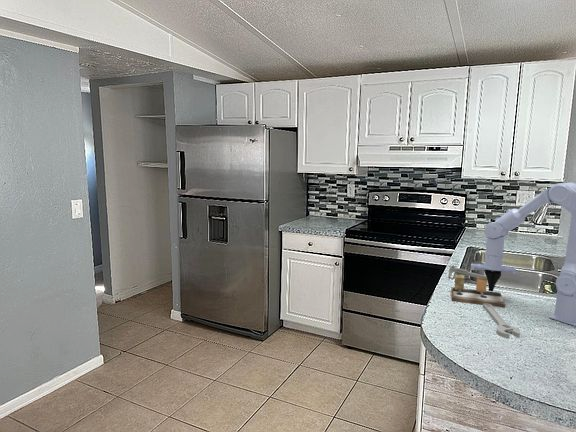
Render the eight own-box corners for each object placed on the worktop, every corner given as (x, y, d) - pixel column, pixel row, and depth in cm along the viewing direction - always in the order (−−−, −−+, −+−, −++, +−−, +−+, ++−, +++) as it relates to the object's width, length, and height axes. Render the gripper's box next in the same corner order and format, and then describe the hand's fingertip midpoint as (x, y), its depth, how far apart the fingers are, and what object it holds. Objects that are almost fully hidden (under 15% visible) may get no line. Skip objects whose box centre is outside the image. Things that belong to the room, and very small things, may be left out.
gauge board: (500, 296, 151) (501, 278, 150) (504, 307, 140) (506, 288, 139) (451, 290, 157) (452, 273, 156) (451, 300, 146) (453, 282, 145)
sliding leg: (484, 289, 152) (485, 278, 151) (487, 297, 144) (488, 284, 143) (476, 288, 153) (477, 277, 152) (477, 296, 145) (478, 283, 144)
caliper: (448, 279, 172) (449, 264, 171) (448, 278, 173) (449, 264, 172) (501, 283, 167) (502, 268, 166) (500, 282, 168) (501, 267, 167)
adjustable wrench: (481, 307, 142) (482, 302, 142) (501, 309, 140) (502, 304, 140) (498, 338, 118) (499, 332, 118) (523, 340, 116) (523, 335, 116)
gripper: (514, 253, 148) (511, 289, 151) (471, 250, 153) (468, 284, 156) (518, 258, 142) (514, 295, 144) (472, 254, 147) (469, 290, 149)
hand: (490, 290), depth 149 cm, fingers closed
